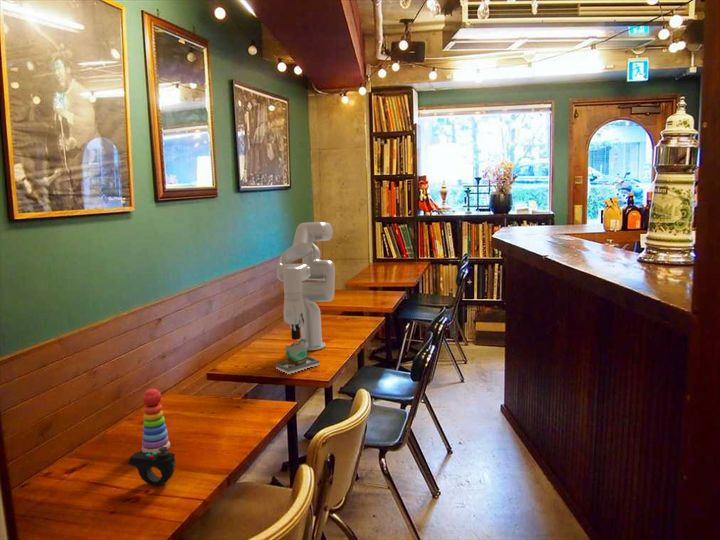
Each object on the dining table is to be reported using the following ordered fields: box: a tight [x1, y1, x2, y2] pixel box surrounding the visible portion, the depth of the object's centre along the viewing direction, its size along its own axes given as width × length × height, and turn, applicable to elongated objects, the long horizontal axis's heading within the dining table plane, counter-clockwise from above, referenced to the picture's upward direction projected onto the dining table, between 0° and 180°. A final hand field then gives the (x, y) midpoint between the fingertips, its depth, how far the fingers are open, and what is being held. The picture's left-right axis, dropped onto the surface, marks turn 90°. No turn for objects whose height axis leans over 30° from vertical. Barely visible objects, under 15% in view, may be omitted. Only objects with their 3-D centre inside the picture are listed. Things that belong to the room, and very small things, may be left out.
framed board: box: [275, 355, 321, 375], centre depth 232 cm, size 10×16×2 cm, turn 129°
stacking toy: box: [141, 388, 171, 453], centre depth 162 cm, size 8×8×19 cm
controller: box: [128, 447, 177, 486], centre depth 144 cm, size 4×12×10 cm, turn 80°
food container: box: [284, 338, 308, 368], centre depth 230 cm, size 12×6×10 cm, turn 151°
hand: (296, 338), depth 230 cm, fingers closed
